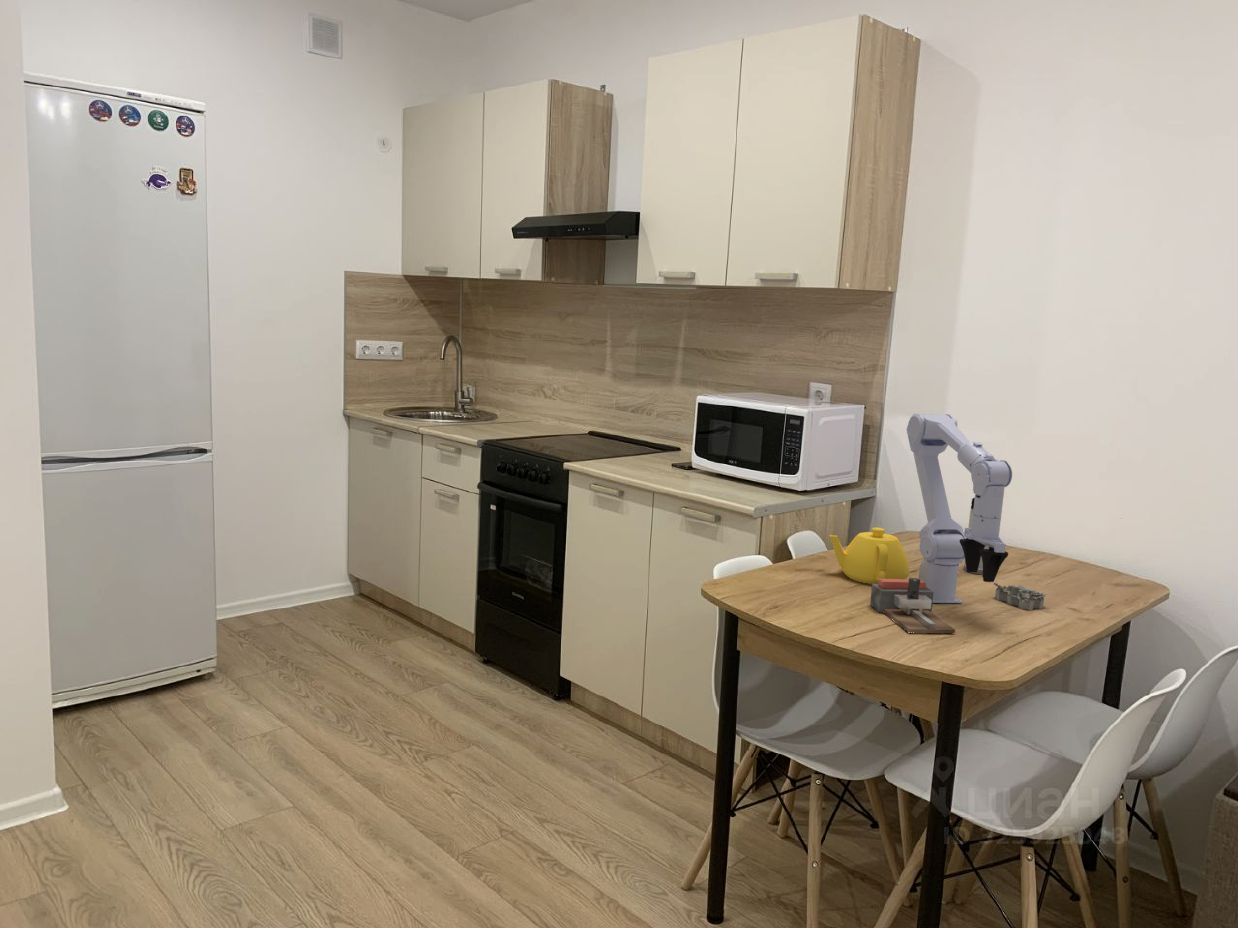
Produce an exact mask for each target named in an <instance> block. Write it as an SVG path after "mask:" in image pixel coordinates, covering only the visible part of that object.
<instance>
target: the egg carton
mask: <svg viewBox="0 0 1238 928" xmlns="http://www.w3.org/2000/svg"><path fill="white" fill-rule="evenodd" d="M994 585H995V587H996V589H995V594H994V598H995V600H996V601H1002V602H1003V601H1004V602H1006V604H1008V605H1011V606H1017V607H1018V609H1021V610H1028V611H1033V609H1039V610H1042V609H1043V608H1044V601H1045V597H1046V596H1047V595H1048V593H1043V592H1039V591H1037V590H1032V589H1030V588H1026V587H1025V586H1024V585H1022V584H1015V585H1010V584H1009V585H1008V586H1006V585H1004V586H1001V584H998V583H997V582H993V586H994Z"/></svg>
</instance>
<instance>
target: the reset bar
mask: <svg viewBox="0 0 1238 928" xmlns="http://www.w3.org/2000/svg"><path fill="white" fill-rule="evenodd" d="M908 582H909V578H906V579H879V581H878V585H879V586H880V587H881V588H893V589H908ZM925 588H926V582H924V581H923V580H920V589H925Z"/></svg>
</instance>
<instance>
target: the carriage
mask: <svg viewBox="0 0 1238 928" xmlns="http://www.w3.org/2000/svg"><path fill="white" fill-rule="evenodd" d="M908 579H909V582H908V592H907V595H894V601H893V604H895V605H896V606H897V607H899V608H901V610H902V611H904V612H905V613H906V614H910V613H911V609H916V610H918V611H919V612H920V613H922V609H931V602H932V600H931V599H930V598H928V597H927V596H925V595H919V589H920V579H919V578H918V577H917V578H915V577H909V578H908Z"/></svg>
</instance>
